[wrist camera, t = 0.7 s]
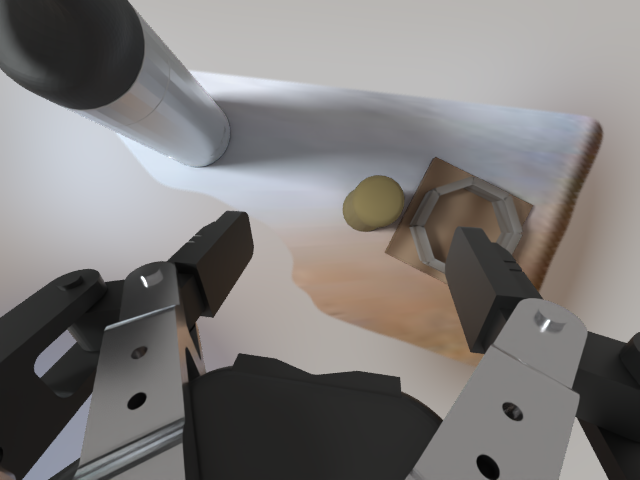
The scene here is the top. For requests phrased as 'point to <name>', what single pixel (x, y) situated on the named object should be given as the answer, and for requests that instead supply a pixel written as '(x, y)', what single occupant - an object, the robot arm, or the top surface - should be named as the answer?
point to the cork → (373, 203)
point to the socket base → (454, 217)
